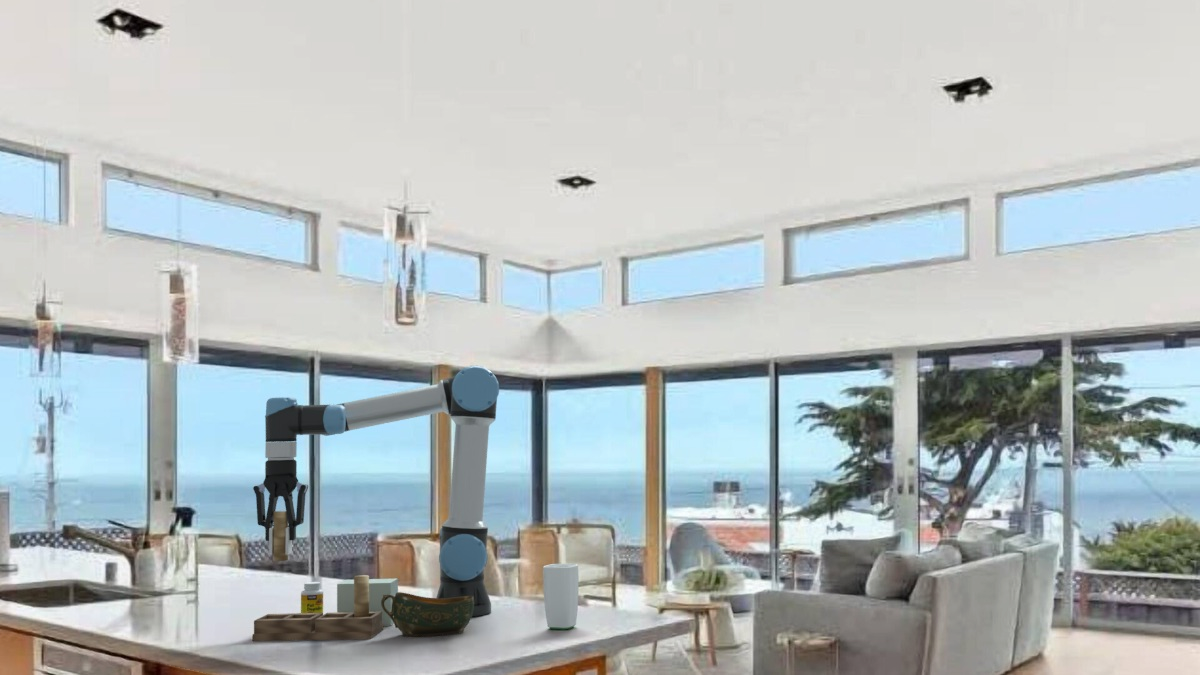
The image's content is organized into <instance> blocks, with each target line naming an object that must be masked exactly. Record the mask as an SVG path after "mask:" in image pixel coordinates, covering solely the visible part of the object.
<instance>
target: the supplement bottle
mask: <svg viewBox="0 0 1200 675" xmlns="http://www.w3.org/2000/svg"><path fill="white" fill-rule="evenodd" d="M303 589H304V590H302V591H301V592H300V613H323V614H324V591H323V589H321V582H320V581H309V582H304V584H303Z"/></svg>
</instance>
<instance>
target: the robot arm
mask: <svg viewBox="0 0 1200 675" xmlns="http://www.w3.org/2000/svg"><path fill="white" fill-rule="evenodd" d="M499 393H500V384H499V381H498V379H497V377H496V376H495V373H493V372H492V371H491V370H490V369H488V368H486V367H484V366H481V365H480V366H479V365H469V366H466V367H463V368H462V369H461V370H459V371H458V372H457V373H456V375H454V376H451V377H449V378H448V377H447V378H444V379H443V378H442V379H440V380H439V382H438V383H436V384H432V385H428V386H427V385H426V386H422V387H417V388H412V389H407V390H403V391H397V392H392V393H387V394H382V395H378V396H373V397H368V398H363V399H362V398H361V399H358V400H353V401H347V402H344V403H337V404H335V403H333V404H332V403H329V404H311V405H303V404H298V402H297V400H298V399H297V398H295V397H289V396H287V397H283V396H282V397H270V398H268V399H267V400H266V406H265V408H266V409H265V416H264V418H265V451H264V452H265V453H264V456H265V459H267V460H266V461H265V462H264V464H265V465H264V466H265V467H264V468H265V469H264V471H265V472H264V473H265V478H264V480H263V482H262V483H261V484H258V485H255V486H253V487H252V489H253V491H254V495H255V499H256V502H255V504H256V515H257V516H256V518H257V525H258V526H262V527H264V529H265V536H264V538H265V541H266V542H268V554H269V556H273V512H275V511H277V503H278V501H279V497H283V500H284V506H285V511H286V513H287V518H288V528H286V555H287V554H288V555H292V554H293V541H295V540H296V538H297V534H296V533H297V527H298V526H299V525H302V524H304V520H305V519H304V518H305V505H306V504H305V503H306V494H307V492H308V489H309V485H308V484H304V483H301V482H299V479H298V477H297V473H298V472H297V469H298V468H297V463H298V462H297V460H296V459H295V458H297V448H298V447H297V446H298V445H297V439H298V438H297V436H305V435H307V436H308V435H310V436H314V435H315V436H317V435H319V436H321V435H322V436H326V437H327V436H333V435H334V436H335V435H341V434H344V433H345V432H349V431H353V430H355V431H356V430H358V429H365V428H367V427H375V426H379V425H384V424H390V423H394V422H399V421H405V420H409V419H414V418H419V417H424V416H429V415H434V414H438V413H445V414H446V415H450V416H449V418H450V419H451V420H452V421H453V422H454V423H455V427H454V429H455V430H454V443H453V458H452V469H451V470H452V471H451V483H450V484H451V485H450V494H449V495H450V497H449V511H448V512H449V513H448V518H447V519H446V520H445V521H444V522H443V523H442V524H441V525H442V526H441V527H440V529H439V535H438V539H439V557H438V563H439V577H440V578H439V581H440V582H439V589H438V591H437V594H436V597H435V598H452V597H460V596H474V610H473V614H472V617H477V616H478V617H479V616H483V615H488V614H491V612H492V602H491V599H490V596H489V593H488V590H487V587H486V584H485V567H486V565H487V562H488V552H487V548H488V547H487V545H488V531H489V526H488V525H487V524H486V522H485V521H484V519H483V517H484V506H485V505H484V503H485V489H486V476H487V475H486V474H487V473H486V472H487V463H488V462H487V461H488V460H487V459H488V449H489V448H488V447H489V433H490V432H489V431H490V426H491V425H492V424H493V423H494V422H495V421H496V417H497V415H496V414H497V405H498V404H497V401H498V396H499ZM265 489H266V491H267V492H268V494H269V496H268V504H267V505H268V507H267V511H266V503H265V502H266V501H265ZM294 490H296V491H297V499H296V500H297V501H296V502H297V503H296V513H295V506H294V500H293V498H294V497H293V492H294Z"/></svg>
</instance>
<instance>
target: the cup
mask: <svg viewBox="0 0 1200 675" xmlns="http://www.w3.org/2000/svg"><path fill="white" fill-rule="evenodd" d="M542 581H543V582H542V584H543V586H542V587H543V588H542V589H543V598H544V599H543V602H544V611H545V619H546V624H547V627H548V628H549V629H552V630H570V629H572V628H574V627H575V626H576V625H577V620H578V619H577V618H578V608H579V607H578V606H579V564H577V563H551V564H547V565H544V566H543V567H542Z"/></svg>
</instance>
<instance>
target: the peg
mask: <svg viewBox="0 0 1200 675" xmlns="http://www.w3.org/2000/svg"><path fill="white" fill-rule="evenodd" d="M288 526H289V524H288V518H287V513H286V510H279V511H278V510H275V512H273V555H272V557H273V558H272V559H273V560H272V561H273V562H284V561H285V562H286V561H289V554H287V555H286V528H288Z"/></svg>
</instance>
